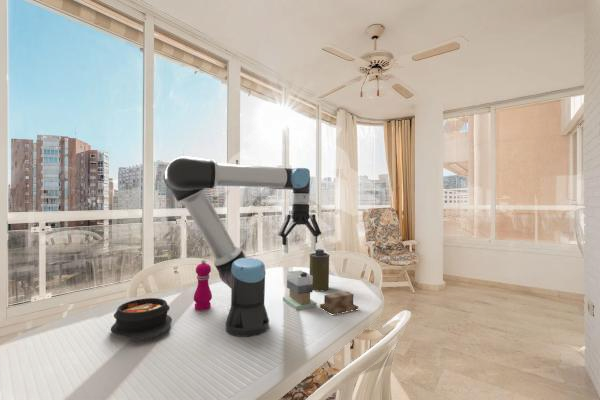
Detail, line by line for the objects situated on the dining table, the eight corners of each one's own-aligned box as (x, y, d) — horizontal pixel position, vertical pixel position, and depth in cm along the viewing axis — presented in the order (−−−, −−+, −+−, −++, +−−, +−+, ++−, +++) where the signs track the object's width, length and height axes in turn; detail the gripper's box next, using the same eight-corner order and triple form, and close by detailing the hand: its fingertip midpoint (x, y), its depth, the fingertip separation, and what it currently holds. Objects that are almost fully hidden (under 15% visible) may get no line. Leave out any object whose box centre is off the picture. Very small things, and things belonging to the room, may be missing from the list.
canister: (321, 292, 146) (322, 252, 146) (304, 288, 153) (305, 249, 153) (333, 287, 155) (333, 249, 155) (316, 284, 161) (317, 247, 161)
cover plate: (286, 279, 134) (287, 269, 134) (300, 277, 137) (300, 267, 137) (298, 286, 124) (298, 274, 124) (312, 284, 127) (312, 273, 127)
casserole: (103, 325, 105) (103, 301, 105) (158, 312, 118) (159, 291, 118) (120, 352, 87) (120, 323, 87) (183, 333, 99) (184, 308, 99)
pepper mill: (189, 308, 121) (190, 260, 122) (202, 303, 128) (203, 257, 128) (202, 312, 118) (203, 262, 118) (215, 306, 125) (216, 259, 125)
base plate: (286, 287, 134) (286, 279, 134) (300, 285, 137) (300, 277, 137) (298, 294, 124) (298, 286, 124) (312, 292, 127) (312, 284, 127)
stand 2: (331, 315, 118) (332, 300, 118) (320, 307, 125) (320, 293, 125) (357, 310, 124) (358, 295, 124) (345, 303, 132) (345, 289, 132)
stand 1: (295, 310, 122) (296, 295, 122) (282, 300, 134) (283, 287, 134) (316, 306, 127) (316, 292, 127) (302, 297, 139) (302, 284, 139)
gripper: (278, 203, 122) (277, 254, 121) (329, 203, 133) (328, 251, 133) (271, 202, 128) (270, 251, 128) (320, 203, 140) (319, 248, 140)
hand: (299, 251), depth 131 cm, fingers open, 13 cm apart
